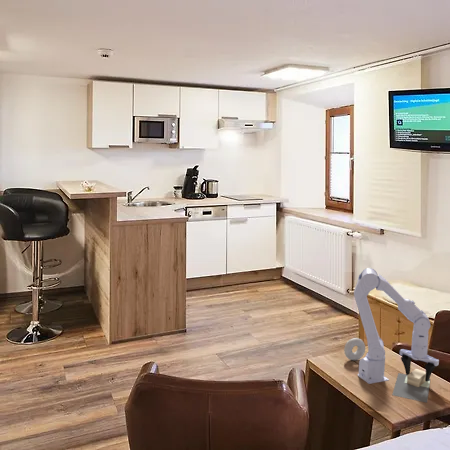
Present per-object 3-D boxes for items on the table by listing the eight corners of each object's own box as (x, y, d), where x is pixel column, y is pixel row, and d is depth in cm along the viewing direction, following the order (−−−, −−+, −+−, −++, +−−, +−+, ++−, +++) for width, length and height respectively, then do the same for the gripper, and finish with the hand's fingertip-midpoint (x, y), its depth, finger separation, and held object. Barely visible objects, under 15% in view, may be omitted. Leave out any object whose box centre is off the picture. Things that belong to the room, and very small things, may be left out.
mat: (427, 403, 171) (427, 402, 171) (392, 396, 176) (392, 394, 176) (430, 380, 189) (430, 378, 189) (398, 373, 194) (398, 372, 194)
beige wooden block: (418, 387, 182) (419, 379, 181) (406, 383, 185) (407, 375, 184) (426, 380, 187) (427, 372, 187) (415, 376, 191) (416, 368, 190)
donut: (361, 357, 210) (362, 335, 208) (366, 360, 207) (367, 338, 205) (342, 359, 207) (343, 338, 205) (346, 363, 204) (347, 341, 202)
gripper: (397, 341, 186) (395, 374, 188) (434, 352, 176) (432, 387, 178) (404, 336, 191) (402, 368, 193) (442, 347, 181) (439, 380, 183)
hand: (417, 377), depth 186 cm, fingers open, 7 cm apart
